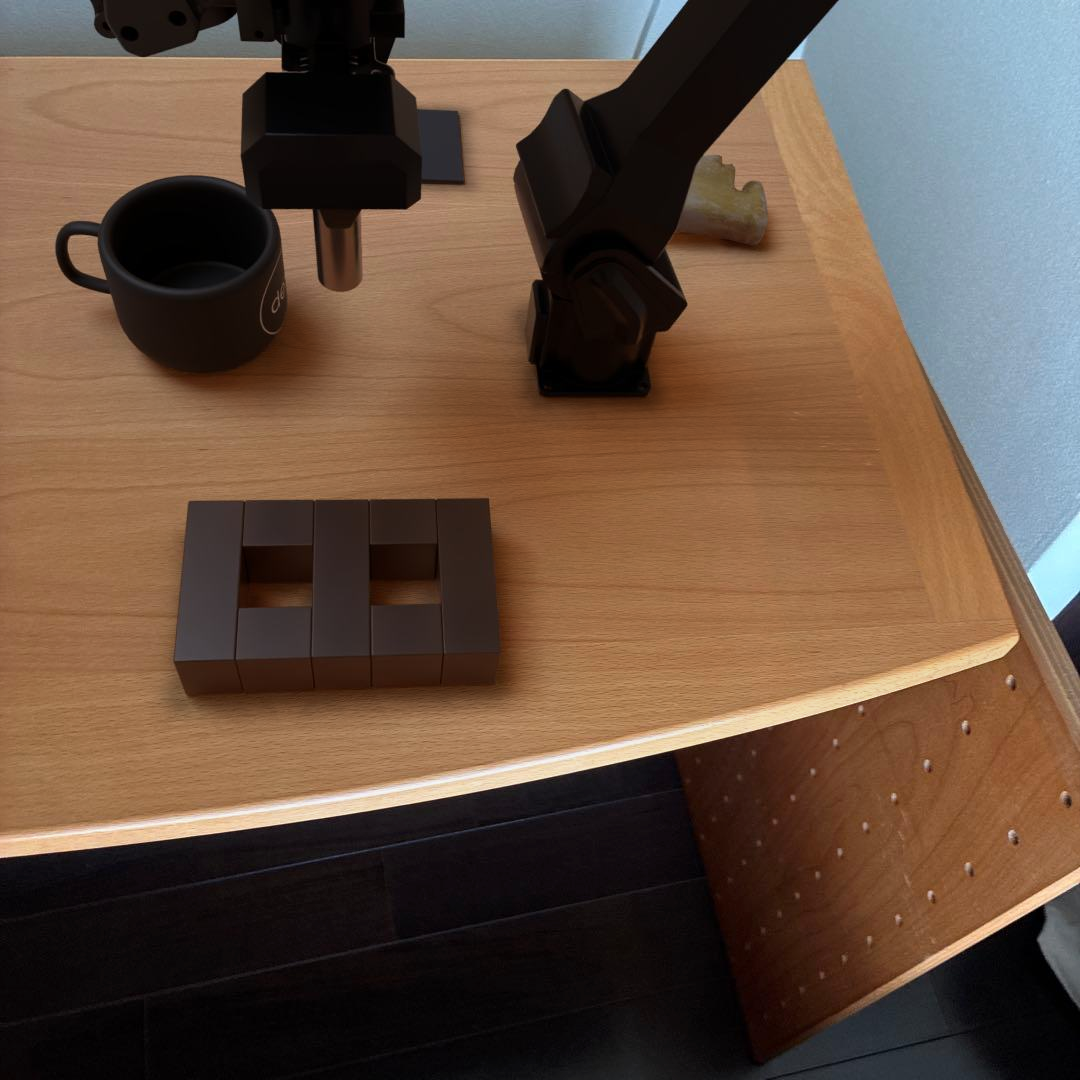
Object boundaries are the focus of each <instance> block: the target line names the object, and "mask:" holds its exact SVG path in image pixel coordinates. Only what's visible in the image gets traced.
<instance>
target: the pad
mask: <svg viewBox="0 0 1080 1080" xmlns="http://www.w3.org/2000/svg"><path fill="white" fill-rule="evenodd" d="M417 112H418V122H419V132H420V142H421V152H422V181H421V184H449V185H464V179H465V178H464V169H463V157H462V145H461V142H462V141H461V129H460V121H459V111H458V110H451V109H450V110H447V109H428V108H427V109H425V108H424V109H423V108H417Z"/></svg>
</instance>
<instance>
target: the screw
mask: <svg viewBox="0 0 1080 1080" xmlns="http://www.w3.org/2000/svg"><path fill="white" fill-rule="evenodd" d="M311 210H312V222H313V223H312V224H313V235H314V248H315V259H316V271H317V279H318V281H319V283H320V284H321V286H323V287H324V288H325V289H327V290H329V291H332V292H336V293H345V292H350V291H353V290H354V289H356V288H358V287H359V286H360V285H361V283H362V281H363V278H364V270H363V269H364V268H363V266H364V265H363V240H362V237H363V236H362V235H363V234H362V211H361V212H360V213H359V215H358V217H357V218H356V220H355V222H354V223H353V225H352V226H351V227H350V228H348V229H330V228H327V227H326V226H325V223H324V221H323V218H322V216H321V214H320V211H319V209H311Z"/></svg>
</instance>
